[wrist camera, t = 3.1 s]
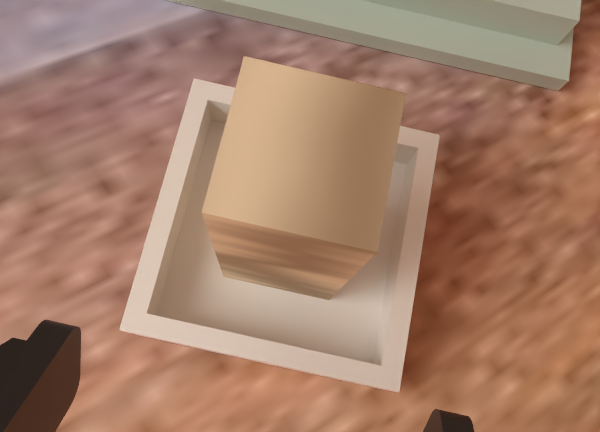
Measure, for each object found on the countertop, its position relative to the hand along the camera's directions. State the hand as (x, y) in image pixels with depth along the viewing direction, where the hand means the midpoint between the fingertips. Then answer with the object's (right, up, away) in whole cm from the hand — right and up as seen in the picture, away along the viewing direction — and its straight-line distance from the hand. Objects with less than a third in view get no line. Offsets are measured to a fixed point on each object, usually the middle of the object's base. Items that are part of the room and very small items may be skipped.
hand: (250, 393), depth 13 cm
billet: (+1, +3, +12) cm, 12 cm away
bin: (+1, +3, +12) cm, 13 cm away
